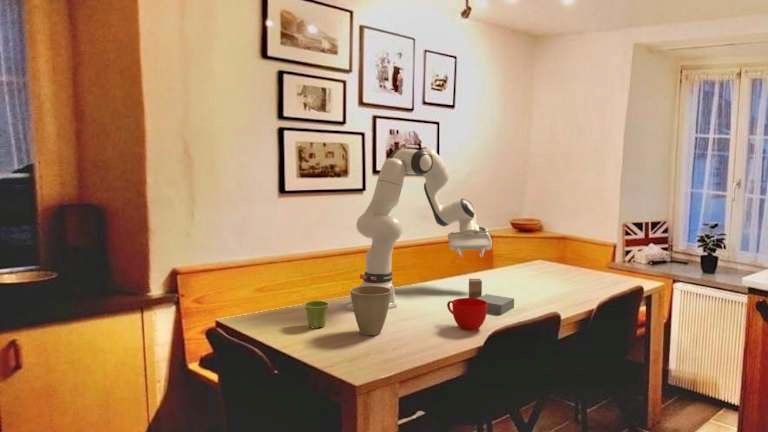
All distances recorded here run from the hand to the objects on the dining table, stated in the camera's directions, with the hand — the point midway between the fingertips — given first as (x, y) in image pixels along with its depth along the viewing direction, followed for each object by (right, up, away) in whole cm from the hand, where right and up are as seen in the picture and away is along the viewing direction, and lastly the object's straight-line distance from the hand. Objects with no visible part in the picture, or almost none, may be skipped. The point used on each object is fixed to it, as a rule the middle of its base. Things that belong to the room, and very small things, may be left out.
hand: (471, 256), depth 265 cm
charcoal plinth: (+5, -20, -25) cm, 33 cm away
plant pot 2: (-46, -24, -58) cm, 77 cm away
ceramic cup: (-10, -23, -51) cm, 57 cm away
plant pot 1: (-66, -23, -50) cm, 87 cm away
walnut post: (0, -19, -10) cm, 21 cm away
